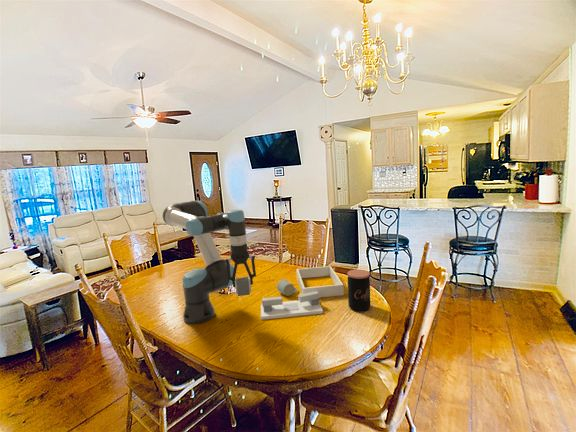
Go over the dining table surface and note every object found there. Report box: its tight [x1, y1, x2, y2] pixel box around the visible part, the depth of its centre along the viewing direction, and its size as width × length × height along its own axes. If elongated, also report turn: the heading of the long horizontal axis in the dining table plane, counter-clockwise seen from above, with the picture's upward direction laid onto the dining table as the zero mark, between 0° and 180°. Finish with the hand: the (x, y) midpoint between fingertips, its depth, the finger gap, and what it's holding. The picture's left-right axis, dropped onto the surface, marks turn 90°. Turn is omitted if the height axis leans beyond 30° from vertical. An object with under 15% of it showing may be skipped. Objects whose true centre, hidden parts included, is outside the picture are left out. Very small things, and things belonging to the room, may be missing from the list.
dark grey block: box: [235, 275, 251, 297], centre depth 147 cm, size 6×6×8 cm
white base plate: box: [260, 291, 324, 321], centre depth 159 cm, size 30×14×7 cm, turn 95°
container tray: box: [296, 265, 345, 299], centre depth 187 cm, size 22×32×6 cm
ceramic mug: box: [276, 278, 298, 297], centre depth 179 cm, size 11×8×8 cm
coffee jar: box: [346, 268, 371, 313], centre depth 155 cm, size 11×11×18 cm
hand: (243, 292), depth 147 cm, fingers closed on dark grey block, 5 cm apart
